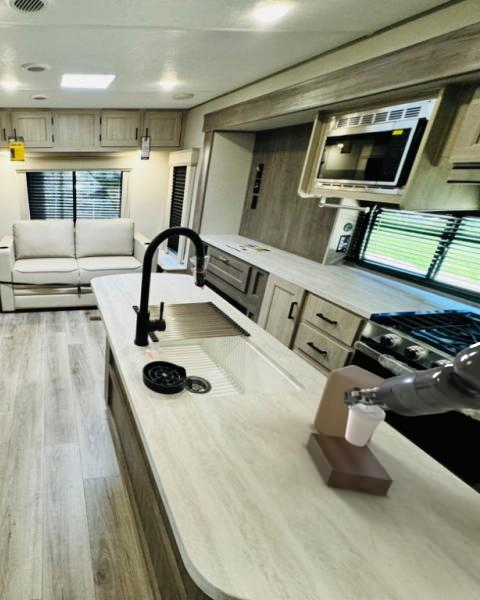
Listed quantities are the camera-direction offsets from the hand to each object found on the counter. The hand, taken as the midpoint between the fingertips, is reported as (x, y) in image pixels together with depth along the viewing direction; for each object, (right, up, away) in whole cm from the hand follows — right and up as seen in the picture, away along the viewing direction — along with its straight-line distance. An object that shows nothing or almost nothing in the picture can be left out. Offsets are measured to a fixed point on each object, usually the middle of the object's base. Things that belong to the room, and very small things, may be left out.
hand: (363, 403), depth 73 cm
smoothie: (0, -10, +2) cm, 10 cm away
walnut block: (0, -19, +6) cm, 20 cm away
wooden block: (+8, -15, +16) cm, 23 cm away
